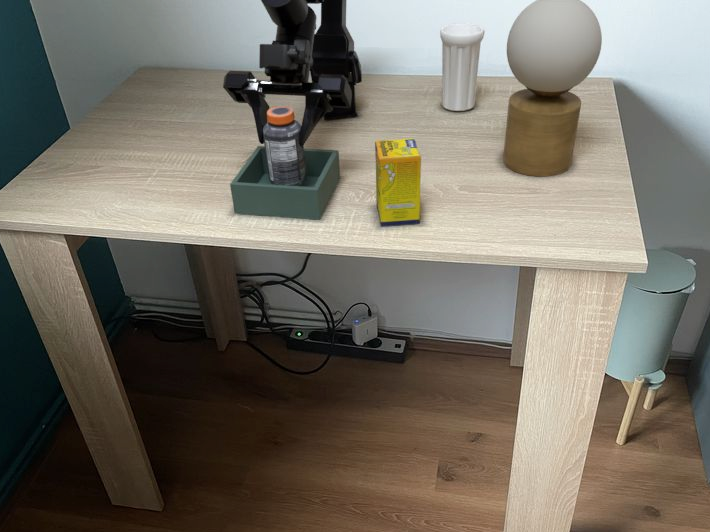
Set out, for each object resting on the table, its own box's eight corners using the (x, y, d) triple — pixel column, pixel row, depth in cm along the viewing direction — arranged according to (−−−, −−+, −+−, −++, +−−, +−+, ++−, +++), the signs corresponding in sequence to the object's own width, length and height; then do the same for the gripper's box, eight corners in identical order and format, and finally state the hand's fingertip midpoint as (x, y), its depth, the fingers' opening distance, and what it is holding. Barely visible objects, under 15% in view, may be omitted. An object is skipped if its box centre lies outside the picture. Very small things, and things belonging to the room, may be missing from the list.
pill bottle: (285, 168, 118) (277, 99, 110) (314, 176, 115) (308, 106, 107) (261, 183, 114) (251, 113, 107) (290, 192, 111) (283, 121, 104)
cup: (430, 110, 140) (432, 32, 131) (448, 96, 146) (451, 20, 136) (468, 117, 137) (473, 38, 128) (486, 102, 142) (492, 25, 133)
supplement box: (375, 207, 112) (374, 140, 105) (414, 204, 112) (415, 137, 105) (379, 227, 107) (378, 158, 100) (420, 224, 107) (421, 154, 100)
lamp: (505, 134, 131) (520, -18, 115) (586, 142, 127) (613, -14, 111) (487, 171, 120) (501, 8, 104) (576, 181, 116) (604, 14, 100)
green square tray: (261, 173, 122) (257, 145, 119) (340, 178, 120) (338, 150, 116) (234, 213, 112) (229, 184, 109) (319, 220, 110) (317, 189, 106)
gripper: (216, 14, 104) (201, 120, 103) (343, 17, 100) (329, 126, 99) (242, 52, 115) (229, 148, 114) (357, 55, 111) (345, 154, 110)
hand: (280, 144), depth 109 cm, fingers closed on pill bottle, 6 cm apart
